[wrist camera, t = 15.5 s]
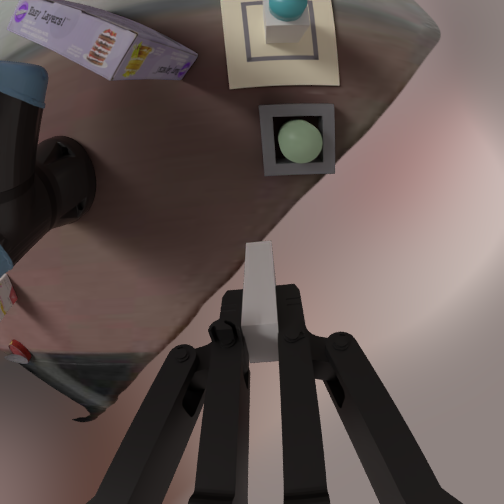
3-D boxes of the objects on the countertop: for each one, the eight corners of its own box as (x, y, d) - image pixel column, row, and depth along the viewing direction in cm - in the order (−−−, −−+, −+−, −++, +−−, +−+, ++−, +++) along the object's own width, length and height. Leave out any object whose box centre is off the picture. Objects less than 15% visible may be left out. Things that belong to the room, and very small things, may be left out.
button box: (264, 169, 37) (264, 176, 35) (259, 104, 32) (258, 105, 30) (329, 167, 36) (334, 173, 34) (328, 103, 32) (334, 104, 29)
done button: (278, 155, 35) (280, 164, 32) (276, 119, 33) (277, 122, 29) (316, 154, 35) (322, 162, 31) (315, 118, 32) (321, 121, 28)
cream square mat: (229, 89, 31) (229, 89, 31) (219, -15, 23) (218, -16, 22) (338, 85, 30) (339, 85, 30) (327, -18, 22) (327, -19, 21)
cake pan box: (83, 35, 25) (-2, 29, 10) (101, 7, 23) (20, -13, 8) (179, 84, 31) (113, 84, 16) (201, 54, 29) (149, 28, 14)
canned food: (25, 333, 72) (20, 351, 64) (36, 353, 77) (33, 371, 68) (4, 336, 68) (-2, 354, 60) (15, 356, 72) (11, 374, 64)
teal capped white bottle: (265, 43, 27) (266, 19, 17) (262, 17, 25) (262, -18, 15) (298, 42, 27) (314, 19, 17) (295, 16, 25) (309, -18, 14)
